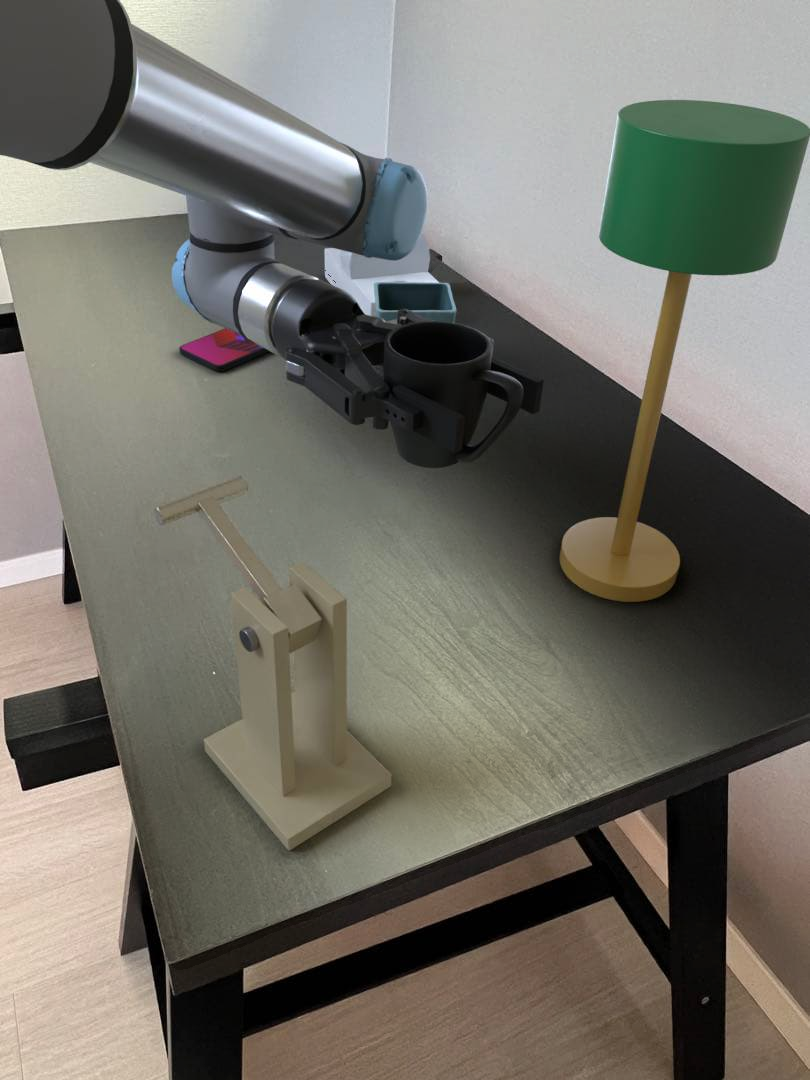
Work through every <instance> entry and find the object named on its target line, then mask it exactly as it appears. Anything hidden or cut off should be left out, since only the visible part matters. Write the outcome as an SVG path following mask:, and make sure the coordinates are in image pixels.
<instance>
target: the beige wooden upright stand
mask: <svg viewBox="0 0 810 1080" xmlns="http://www.w3.org/2000/svg"><path fill="white" fill-rule="evenodd" d="M288 570H289V586H291V585H294V584H296V585H297V586H298V588H299V589H300V590H301V592H302V593H303V594H304V596H305V597H306V598H307V600H308V601H309V602H310V604H311V605H312V606H313V608H314V609H315V610H316V612H317V613H318V614H319V616H320V617H321V618H322V620H321V624H320V627H319V630H318V633H317V636H316V639H315V641H314V642H312V643H310V644H308V645H306V646H304V647H302V648H300V649H298V650H296V651H294V652H292V654H293V655H292V659H293V680H294V691H292V682H291V681H292V679H291V678H292V677H291V660H290V659H291V658H290V654H289V637H288V627H287V626H286V625H285V624H284V623H283V622H282V621H281V620H280V619H279V618H278V617H277V616H276V615H274V614H273V613H272V612H271V611H270V610H269V609H268V608H267V607H266V606H265V605H264V604H263V603H262V601H261V600H260V598H258V597H257V596H256V595H255V594H254V593H252V592H251V591H250V590H249V589H248V588H247V587H246V586H244V587H242V588H240V589H237V590H234V591H233V592H231V593H230V601H231V612H232V621H233V622H232V623H233V633H234V642H235V643H234V644H235V654H236V656H235V657H236V666H237V677H238V686H239V696H240V697H239V698H240V708H241V719H239V720H237V721H236V722H233V723H231V724H230V725H228V726H226V727H224V728H222V729H220V730H218V731H217V732H215V733H213V734H210V735H209V736H206V737H205V738H204V739H203V745H204V751H205V753H206V754H207V755H208V756H209V758H210V759H211V760H212V761H213V762H214V763H215V765H216V766H217V767H218V768H219V769H220V771H221V772H222V773H223V774H224V775H225V777H226V778H227V779H228V780H229V782H230V783H231V784H232V785H233V787H235V789H236V790H237V791H238V792H239V793H240V795H241V796H242V797H243V799H245V801H246V802H247V803H248V804H249V805H250V806H251V808H252V809H253V810H254V811H255V813H256V814H257V815H258V816H259V817H260V819H261V820H262V821H263V822H264V823H265V825H266V826H267V827H268V828H269V829H270V830H271V832H273V834H274V835H275V836H276V838H277V839H278V840H279V841H280V842H281V843H282V845H283V846H284V847H285V848H286V849H287V851H289V852H290V851H291V850H293V849H295V848H297V847H298V846H299V845H301V844H303V843H304V842H306V841H307V840H309V839H311V838H312V837H314V836H315V835H317V834H318V833H320V832H322V831H323V830H325V829H326V828H328V827H329V826H331V825H333V824H334V823H336V822H337V821H339V820H340V819H342V818H343V817H345V816H347V815H348V814H350V813H351V812H353V811H354V810H356V809H357V808H359V807H361V806H362V805H364V804H365V803H367V802H369V801H370V800H372V799H374V798H375V797H376V796H378V795H380V794H382V793H383V792H384V791H387V790H388V789H389V788H391V787H392V773H391V772H390V771H389V770H388V769H387V768H385V766H384V765H383V764H382V763H381V762H380V761H378V759H376V758H375V756H374V755H372V754H371V752H370V751H368V750H367V748H365V747H364V746H363V745H362V744H361V743H360V742H359V740H358V739H356V737H354V736H353V735H352V733H351V732H350V731H348V720H347V719H348V610H347V609H348V606H347V605H348V599H347V598H346V596H344V595H343V594H342V593H341V592H340V591H338V590H337V589H336V588H335V587H333V585H331V584H330V583H329V582H328V581H327V580H326V579H324V578H323V577H322V576H320V574H318V573H317V572H316V571H315V570H313V568H311V567H310V566H309V565H308V564H307V563H305V562H304V561H300V562H298V563H296V564H293V565H291V566H290V567H289V568H288Z"/></svg>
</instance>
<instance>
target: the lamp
mask: <svg viewBox="0 0 810 1080" xmlns="http://www.w3.org/2000/svg"><path fill="white" fill-rule="evenodd" d="M614 129H615V130H614V135H613V142H612V147H611V154H610V155H611V156H610V160H609V166H608V171H607V172H608V174H607V180H606V185H605V192H604V198H603V205H602V211H601V217H600V222H599V223H600V224H599V229H598V238H599V242H600V243H601V244H602V246H603V247H605V248H606V249H607V250H609V251H610V252H612V253H613V254H614V255H616V256H619V257H621V258H623V259H625V260H628V261H630V262H633V263H636V264H639V265H643V266H645V267H650V268H652V269H657V270H661V271H665V272H666V271H667V276H666V277H667V278H666V280H665V281H666V282H665V287H664V292H663V297H662V300H661V306H660V311H659V315H658V321H657V325H656V329H655V335H654V340H653V345H652V349H651V353H650V354H651V355H650V359H649V364H648V369H647V373H646V377H645V384H644V388H643V392H642V398H641V402H640V407H639V412H638V417H637V422H636V426H635V427H636V428H635V431H634V436H633V441H632V447H631V451H630V456H629V461H628V465H627V471H626V475H625V480H624V485H623V490H622V494H621V499H620V504H619V509H618V514H617V517H610V516H605V517H602V516H601V517H593V518H589V519H585V520H582V521H579V522H577V523H575V524H574V525H572V526H571V527H570V528H569V529H568V530H567V531H566V532H565V533H564V535H563V537H562V540H561V544H560V545H561V546H560V549H559V550H560V552H559V564H560V567H561V570H562V571H563V573H564V574H565V576H566V577H567V578H568V579H569V581H571V582H572V583H573V584H574V585H576V586H577V587H579V588H580V589H581V590H583V591H585V592H588V593H589V594H590V595H591V594H592V595H594V596H597V597H599V598H602V599H606V600H611V601H614V602H623V603H639V602H646V601H651V600H655V599H657V598H660V597H661V596H663V595H665V594H666V593H667V592H669V591H670V590H671V589H672V588H673V586H674V585H675V583H676V581H677V577H678V574H679V570H680V567H681V557H680V553H679V550H678V548H677V547H676V545H675V544H674V543H673V542H672V541H671V540H670V538H669V537H667V536H666V535H665V534H664V533H662V532H661V531H659V530H658V529H656V528H654V527H652V526H650V525H648V524H645V523H642V522H639V521H638V518H639V513H640V511H641V505H642V500H643V497H644V496H643V495H644V493H645V492H644V491H645V487H646V482H647V479H648V478H647V477H648V473H649V469H650V464H651V459H652V456H653V452H654V451H653V450H654V447H655V442H656V438H657V434H658V433H657V432H658V428H659V423H660V420H661V416H662V411H663V405H664V403H665V397H666V392H667V387H668V384H669V380H670V379H669V378H670V374H671V370H672V366H673V361H674V356H675V351H676V347H677V343H678V338H679V334H680V330H681V324H682V320H683V315H684V310H685V306H686V302H687V297H688V293H689V288H690V284H691V280H692V275H695V276H696V275H697V276H736V275H745V274H750V273H755V272H759V271H762V270H764V269H767V268H768V267H770V266H772V265H773V264H774V263H775V262H776V260H777V258H778V254H779V251H780V248H781V244H782V240H783V236H784V233H785V229H786V226H787V222H788V217H789V215H790V211H791V208H792V204H793V200H794V196H795V192H796V189H797V185H798V181H799V178H800V174H801V171H802V167H803V165H804V164H803V163H804V160H805V157H806V152H807V149H808V145H809V141H810V127H809V126H808V125H807V124H806V123H804V122H802V121H801V120H798V119H796V118H794V117H792V116H789V115H786V114H783V113H780V112H776V111H773V110H769V109H764V108H760V107H754V106H748V105H742V104H737V103H730V102H729V103H728V102H721V101H712V100H710V101H709V100H696V99H695V100H694V99H658V100H657V99H656V100H646V101H640V102H634V103H631V104H630V103H629V104H628V105H625V106H622V107H621V108H620V109H618V112H617V116H616V121H615V128H614Z"/></svg>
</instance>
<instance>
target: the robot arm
mask: <svg viewBox="0 0 810 1080" xmlns="http://www.w3.org/2000/svg"><path fill="white" fill-rule="evenodd" d="M0 156H2V157H9V158H13V159H15V160H16V159H17V160H20V161H24V162H26V163H30V164H33V165H37V166H39V167H43V168H45V169H50V170H54V171H67V170H74V169H77V168H81V167H83V166H85V165H87V164H89V163H90V164H93V165H97V166H99V167H102V168H105V169H108V170H111V171H114V172H115V173H116V172H117V173H120V174H122V175H125V176H129V177H131V178H134V179H137V180H140V181H142V182H145V183H148V184H151V185H154V186H157V187H159V188H163V189H166V190H169V191H172V192H175V193H177V194H181V195H183V196H185V199H186V209H187V219H188V227H189V228H188V229H189V238H188V239H187V240H186V241H184V243H183V244H182V245H181V246H180V247H179V248H178V250H177V252H176V254H175V256H176V257H175V260H174V263H173V266H172V267H171V281H172V286H173V288H174V292H175V294H176V296H177V297H178V299H179V300H180V301H181V302H182V303H183V305H185V306H187V307H188V309H190V310H192V311H193V312H195V313H196V314H198V315H199V316H200V317H201V318H202V319H203V320H205V321H207V322H209V323H210V324H214V325H216V326H217V325H218V326H220V327H222V328H223V329H225V328H226V329H229V330H231V331H233V332H235V333H237V334H239V335H241V336H243V337H245V338H246V339H247V340H249V341H251V342H254V343H256V344H258V345H260V346H262V347H263V348H265V349H267V350H269V351H268V352H271V353H272V354H275V355H276V356H278V357H280V358H282V359H284V360H285V377H286V380H287V381H289V382H292V383H294V384H297V385H299V386H302V387H304V388H306V389H307V390H309V392H311V393H312V394H313V395H314V396H316V397H317V398H318V399H320V400H321V401H322V402H323V403H324V404H326V405H327V406H328V407H329V408H331V409H332V410H333V411H334V412H336V413H337V414H338V415H339V416H341V417H342V418H343V419H344V420H346V422H348V423H349V424H351V425H353V426H361V425H363V424H365V423H366V419H367V418H372V428H373V429H375V430H379V431H380V430H386V429H388V427H389V423H390V422H392V423H394V424H397V426H399V427H401V428H403V429H405V430H408V431H412V432H413V431H414V432H416V433H418V434H420V435H422V436H423V437H425V438H427V439H429V440H431V441H433V442H435V443H437V444H439V445H440V446H442V447H444V448H446V449H448V450H450V451H452V452H454V453H456V452H458V451H460V450H462V444H463V432H464V421H465V416H463V415H461V414H459V413H457V412H455V411H453V410H451V409H449V408H447V407H445V406H443V405H441V404H439V403H437V402H435V401H433V400H431V399H429V398H427V397H424V396H422V395H420V394H418V393H416V392H414V391H412V390H410V389H408V388H406V387H404V386H402V385H398V386H395V387H393V395H392V394H390V393H389V387H388V385H387V384H386V383H385V382H384V380H383V377H382V376H381V375H380V373H379V372H378V371H377V370H376V368H375V367H374V366H381V367H384V342H385V338H386V336H387V335H388V333H389V332H391V331H392V330H393V329H395V328H397V327H399V326H402V325H406V324H409V323H415V322H423V321H433V320H430V319H426V318H423V317H421V316H419V315H417V314H415V313H414V312H412V311H410V310H408V309H400V310H398V311H397V319H395V320H391V321H387V322H386V321H385V320H384V319H382V318H379V317H373V316H369V315H365V314H364V313H363V311H362V310H361V308H360V307H359V305H358V303H357V302H356V300H355V299H354V297H353V296H352V295H351V294H349V293H348V292H346V291H344V290H342V289H340V288H338V287H335V286H333V285H331V284H330V283H329V282H326V281H324V280H321V279H319V278H318V277H316V276H313V275H310V274H308V273H305V272H304V271H301V270H298V269H296V268H293V267H291V266H289V265H287V264H285V263H282V262H280V261H278V260H276V257H275V239H276V237H275V235H278V236H281V237H286V238H291V239H293V240H300V241H304V242H307V243H312V244H315V245H321V246H324V247H326V248H335V249H339V250H343V251H347V252H351V253H355V254H359V255H363V256H366V257H367V258H371V257H375V258H380V259H386V260H391V261H396V260H400V259H402V258H404V257H405V256H407V255H408V254H409V253H410V252H411V251H412V250H413V249H414V247H415V246H416V244H417V242H418V240H419V238H420V236H421V234H423V231H424V226H425V222H426V218H427V213H428V197H429V196H428V189H427V186H426V185H427V184H426V182H425V179H424V177H423V175H422V173H421V172H420V171H419V170H418V169H417V168H415V167H414V166H412V165H411V164H410V165H409V164H406V163H401V162H397V161H394V160H393V159H392V158H389V157H385V158H379V157H374V156H371V155H368V154H364V153H362V152H360V151H359V150H356V149H355V148H353V147H351V146H349V145H347V144H345V143H342V142H341V141H339V140H337V139H335V138H334V137H332V136H330V135H328V133H327V134H326V133H325V132H323V131H321V130H319V129H318V128H316V127H314V126H313V125H311V124H309V123H307V122H306V121H304V120H302V119H300V118H298V117H296V116H295V115H293V114H292V113H290V112H288V111H287V110H285V109H283V108H281V107H279V106H277V105H276V104H274V103H272V102H271V101H269V100H266V99H265V98H263V97H262V96H259V95H258V94H257V93H254V92H253V91H251V90H250V89H248V88H245V87H244V86H242V85H240V84H239V83H237V82H235V81H233V80H232V79H230V78H228V77H227V76H225V75H223V74H221V73H220V72H217V71H215V70H214V69H212V68H210V67H208V66H207V65H205V64H203V63H202V62H200V61H198V60H196V59H194V58H193V57H191V56H189V55H188V54H185V53H184V52H182V51H180V50H179V49H177V48H175V47H174V46H171V45H170V44H168V43H166V42H165V41H163V40H161V39H159V38H158V37H156V36H154V35H153V34H150V33H149V32H147V31H145V30H143V29H141V28H140V27H138V26H137V25H136V24H135V25H134V24H133V23H132V21H131V18H130V16H129V14H128V12H127V10H126V8H125V6H124V4H123V3H122V2H121V1H120V0H0ZM488 338H489V340H490V341H491V343H492V349H493V350H492V354H493V351H494V342H495V341H494V339H493V338H490V337H488ZM490 371H495V372H499V373H503V374H506V375H508V376H511V377H513V378H515V379H516V380H518V381H519V382H520V383H521V385H522V387H523V400H522V404H521V407H520V409H521V410H523V411H525V412H528V413H529V414H532V415H535V414H537V413H539V412H540V409H541V403H542V396H543V395H542V394H543V387H544V382H545V381H544V379H543V378H541V377H538V376H536V375H534V374H532V373H529V372H527V371H525V370H523V369H520V368H518V367H516V366H513V365H511V364H509V363H508V362H505V361H502V360H500V359H498V358H496V357H493V356H492V360H491V370H490ZM487 394H489V395H491V396H494V397H495V398H497V399H500V400H502V401H504V402H506V403H507V393H506V391H505V389H504V388H503V387H501V386H500V385H498V384H495V383H492V382H489V386H488V391H487Z"/></svg>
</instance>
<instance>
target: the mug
mask: <svg viewBox="0 0 810 1080" xmlns="http://www.w3.org/2000/svg"><path fill="white" fill-rule="evenodd" d="M489 338H490V337H488V336H487V335H486V334H484V333H483V332H481V331H480V330H478V329H476V328H474V327H470V326H468V325H465V324H460V323H457V322H454V323H451V322H443V321H423V322H415V323H409V324H406V325H402V326H399V327H397V328H395V329H393V330H392V331H391V332H389V333H388V335H387V336H386V338H385V342H384V366H383V377H382V379H383V380H384V382H385V383H386V384H387V385H388V387H389V393H390V394H392V395H393V387H395V386H398V385H402V386H404V387H406V388H408V389H410V390H412V391H414V392H416V393H418V394H420V395H422V396H424V397H427V398H429V399H431V400H433V401H435V402H437V403H439V404H441V405H443V406H445V407H447V408H449V409H451V410H453V411H455V412H457V413H459V414H461V415H463V416H465V421H464V432H463V444H462V450H460V451H458V452H456V453H454V452H452V451H450V450H448V449H446V448H444V447H442V446H440V445H439V444H437V443H435V442H433V441H431V440H429V439H427V438H425V437H423V436H422V435H420V434H418V433H416V432H414V431H413V432H412V431H408V430H405V429H403V428H401V427H399V426H397V424H394V423H392V422H390V421H389V423H390V427H391V430H392V434H393V437H394V440H395V444H396V449H397V452H398V455H399V456H400V458H402V459H403V460H404V461H405V462H407V463H409V464H411V465H413V466H417V467H421V468H426V469H442V468H448V467H452V466H454V465H456V464H458V463H461V464H467V463H472V462H474V461H476V460H477V459H479V458H480V457H481V456H482V455H483V454H485V453H486V452H487V450H488V449H489V448H490V447H492V445H493V444H494V443H495V442H496V441H497V440H498V438H499V437H500V436H501V435H502V434H503V433H504V432H505V430H506V429H507V428H508V427H509V426H510V424H511V423H512V422H513V421H514V419H515V418H516V417H517V415H518V413H519V411H520V409H521V408H520V407H521V404H522V400H523V387H522V385H521V383H520V382H519V381H518V380H516V379H515V378H513V377H511V376H508V375H506V374H503V373H499V372H495V371H490V370H491V360H492V357H493V353H492V350H493V351H494V348H493V349H492V343H491V341H490V340H489ZM489 382H492V383H495V384H498V385H500V386H501V387H503V388H504V389H505V391H506V393H507V402H506V406H505V409H504V411H503V412H502V415H501V417H500V418H499V420H498V421H497V423H496V424H495V426H494V427H493V428H492V429H491V431H490V432H489V433H488V434H487V435H486V436H485V437H484V438H483V439H482V440H481V441H480V442H479V443H477V444H475V445H470V444H471V440H472V438H473V436H474V434H475V431H476V428H477V426H478V424H479V420H480V418H481V415H482V412H483V410H484V405H485V403H486V399H487V396H488V395H487V394H488V393H487V391H488V386H489Z"/></svg>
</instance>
